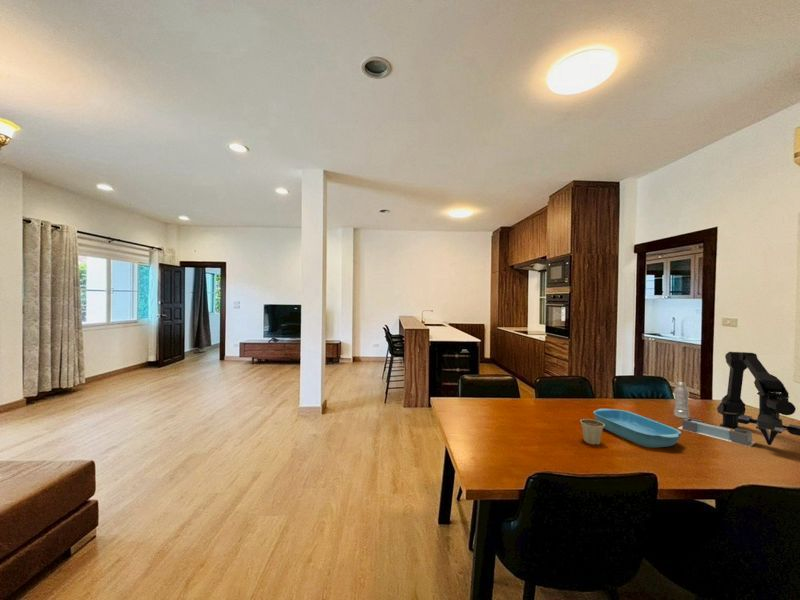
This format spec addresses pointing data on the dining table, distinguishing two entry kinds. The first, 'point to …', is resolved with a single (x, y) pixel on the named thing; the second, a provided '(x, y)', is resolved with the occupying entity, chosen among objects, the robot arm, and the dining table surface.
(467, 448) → the dining table surface
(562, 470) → the dining table surface
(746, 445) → the board
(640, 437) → the casserole dish
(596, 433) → the flower pot
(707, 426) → the slat
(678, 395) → the plastic bottle
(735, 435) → the cap sliding
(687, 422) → the cap fixed
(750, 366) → the robot arm
